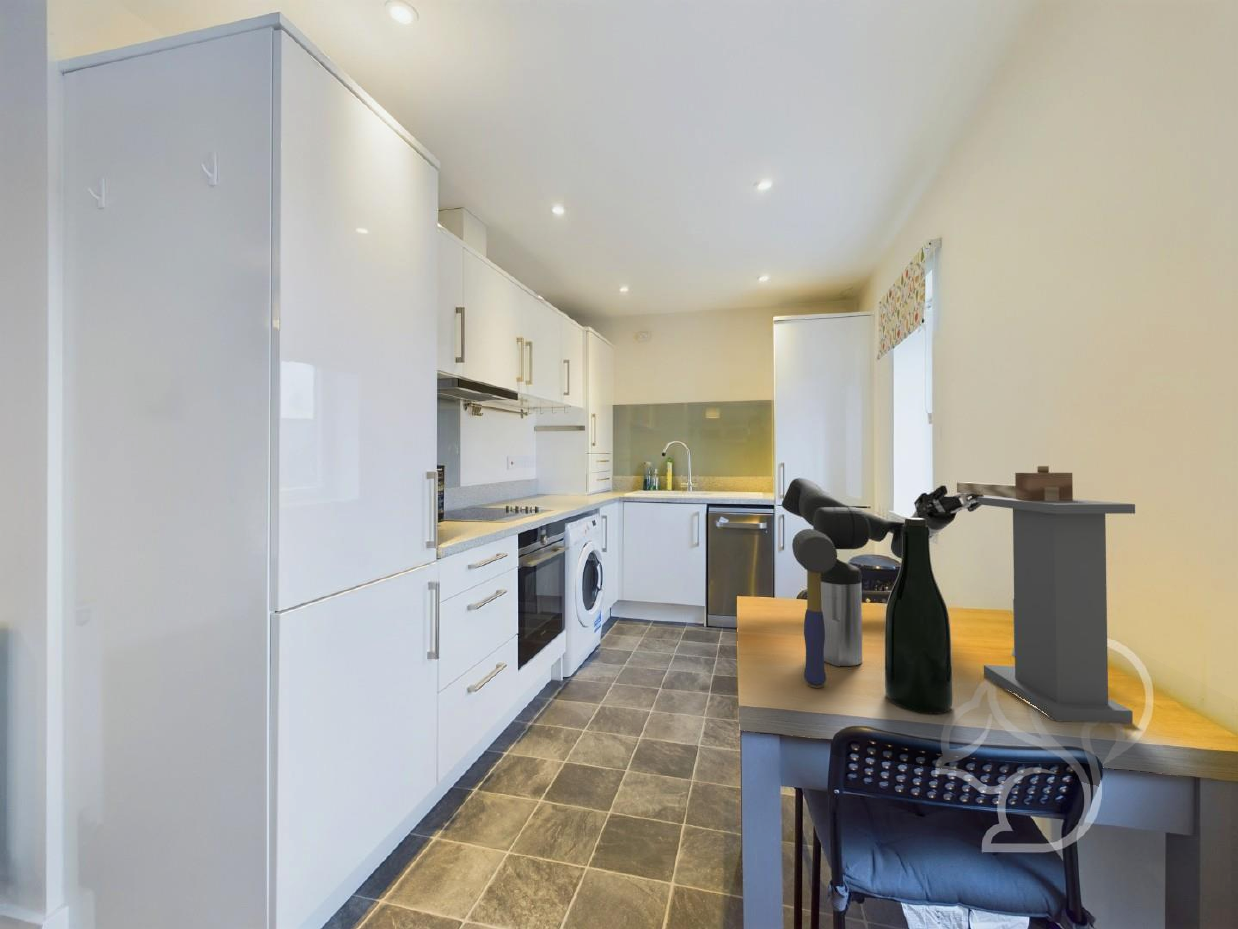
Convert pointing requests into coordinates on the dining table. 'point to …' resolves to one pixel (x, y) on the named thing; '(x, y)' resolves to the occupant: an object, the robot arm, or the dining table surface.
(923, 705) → the dark green wine bottle
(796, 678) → the dining table surface
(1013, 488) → the marking gauge
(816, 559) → the rubber mallet
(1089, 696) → the plinth
